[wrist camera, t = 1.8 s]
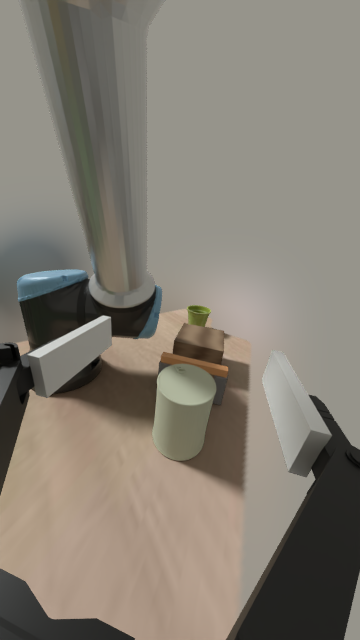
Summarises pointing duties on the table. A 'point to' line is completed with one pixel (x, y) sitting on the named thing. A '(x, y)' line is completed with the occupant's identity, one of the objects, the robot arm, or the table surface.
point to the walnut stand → (200, 344)
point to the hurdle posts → (218, 380)
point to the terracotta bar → (195, 364)
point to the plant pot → (198, 315)
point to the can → (182, 410)
